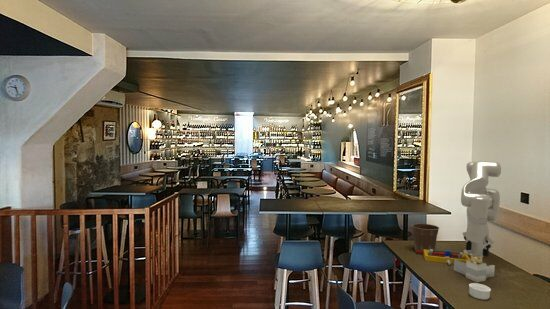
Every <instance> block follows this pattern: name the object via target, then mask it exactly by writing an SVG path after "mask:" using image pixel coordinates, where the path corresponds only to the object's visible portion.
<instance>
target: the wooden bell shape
mask: <svg viewBox="0 0 550 309" xmlns="http://www.w3.org/2000/svg"><path fill="white" fill-rule="evenodd" d="M470 259H471V262H472V263H475V264H482V262H483V257H481V256H479V255H471V256H470Z"/></svg>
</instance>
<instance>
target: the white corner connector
mask: <svg viewBox="0 0 550 309" xmlns="http://www.w3.org/2000/svg"><path fill="white" fill-rule="evenodd" d="M495 267H496V265H494V264H490V265H487V263H486V262H483V261H482V264H475V263H472V262H471V260H469V261H466V263H463V262H460V261H458V260H454V264H453V271H454V272H457V273H459V274H462V275H464V276H465V278H466V279H468V280H470V281H472V282H473V283H481V282H482V283H483V282H486V279H487V278H493V277H495Z"/></svg>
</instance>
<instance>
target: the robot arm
mask: <svg viewBox="0 0 550 309" xmlns="http://www.w3.org/2000/svg"><path fill="white" fill-rule="evenodd" d="M465 168H466V172H467V174H468V177H469V181H466V183H465V184H464V185H463V187H462V188H461V193H460V194H461V195H460V203H461V205H462V206H464V207H466V217H467V219H466V220H467V225H466V231H464V232H462V236H463V239H464V240H465V244H466V245H465V249H463V252H462V253H463V254H467V255H468V256H469V257H471V255H479V256H481V257H482V258H485V257H489V251H490V248H493V245H494V244H495V241H494V240H492V239H491V238H490V232H489V231H490V229H489V225H488V222H491V223H495V222H497V221H498V220H499V218H500V203H501V202H500V198H501V197H500V196H501V194H500V192H499V190H497V189H495V188H487V187H488V184H489V177H491V178H499V177H500V175H501V173H502V166H501V164H500V163H499V161H498V162H497V161H486V160H485V161H482V160H480V161H479V160H478V161H469V162H467V163H466V167H465Z"/></svg>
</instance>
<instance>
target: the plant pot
mask: <svg viewBox="0 0 550 309" xmlns="http://www.w3.org/2000/svg"><path fill="white" fill-rule="evenodd" d="M411 227H412V232H413V244H414V251H415V252H416V250H418V251H423V249H426V250H429V251H430V249H433V250H436V247H437V246H436V244H437V238H438V233H439V230H440V227H439V226H437V225H434V224H428V223H413V224H411ZM433 252H434V251H433Z"/></svg>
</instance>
